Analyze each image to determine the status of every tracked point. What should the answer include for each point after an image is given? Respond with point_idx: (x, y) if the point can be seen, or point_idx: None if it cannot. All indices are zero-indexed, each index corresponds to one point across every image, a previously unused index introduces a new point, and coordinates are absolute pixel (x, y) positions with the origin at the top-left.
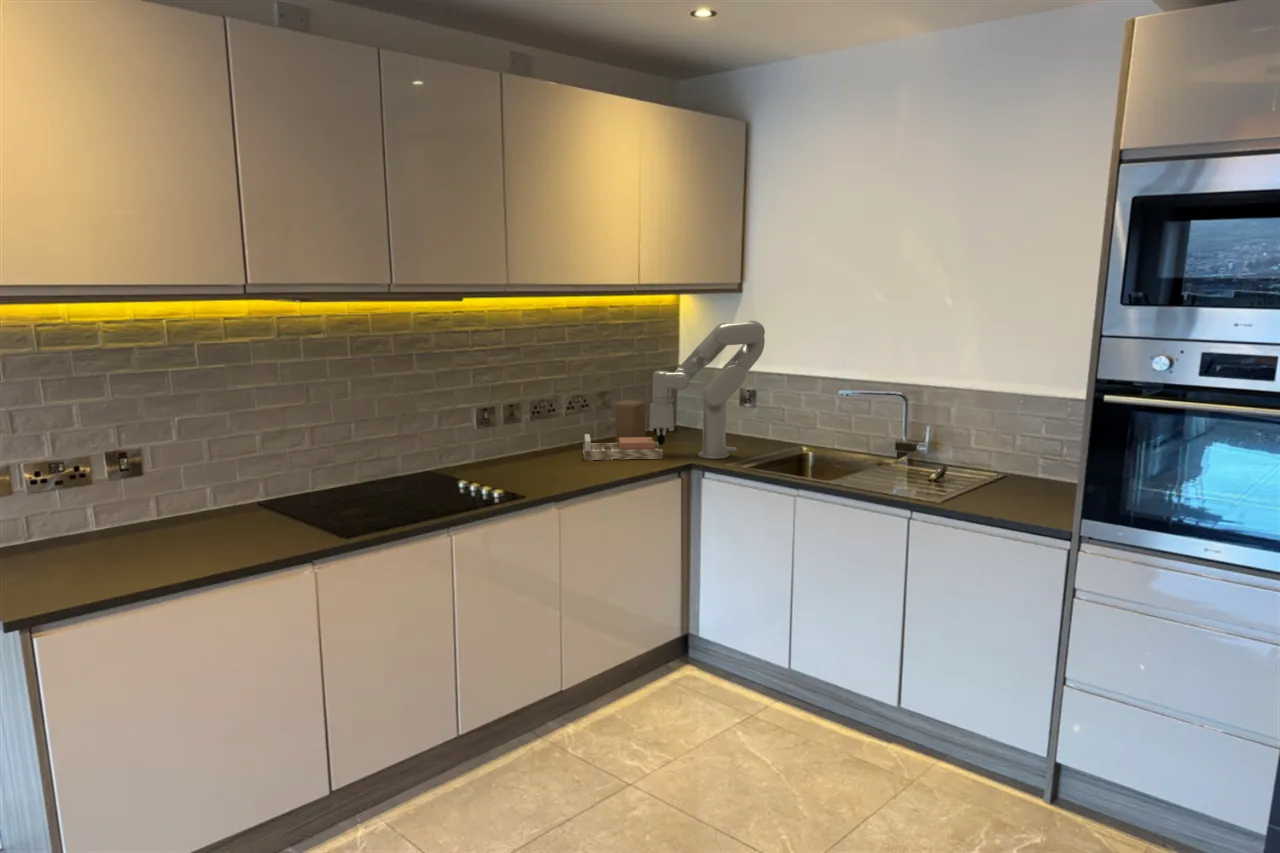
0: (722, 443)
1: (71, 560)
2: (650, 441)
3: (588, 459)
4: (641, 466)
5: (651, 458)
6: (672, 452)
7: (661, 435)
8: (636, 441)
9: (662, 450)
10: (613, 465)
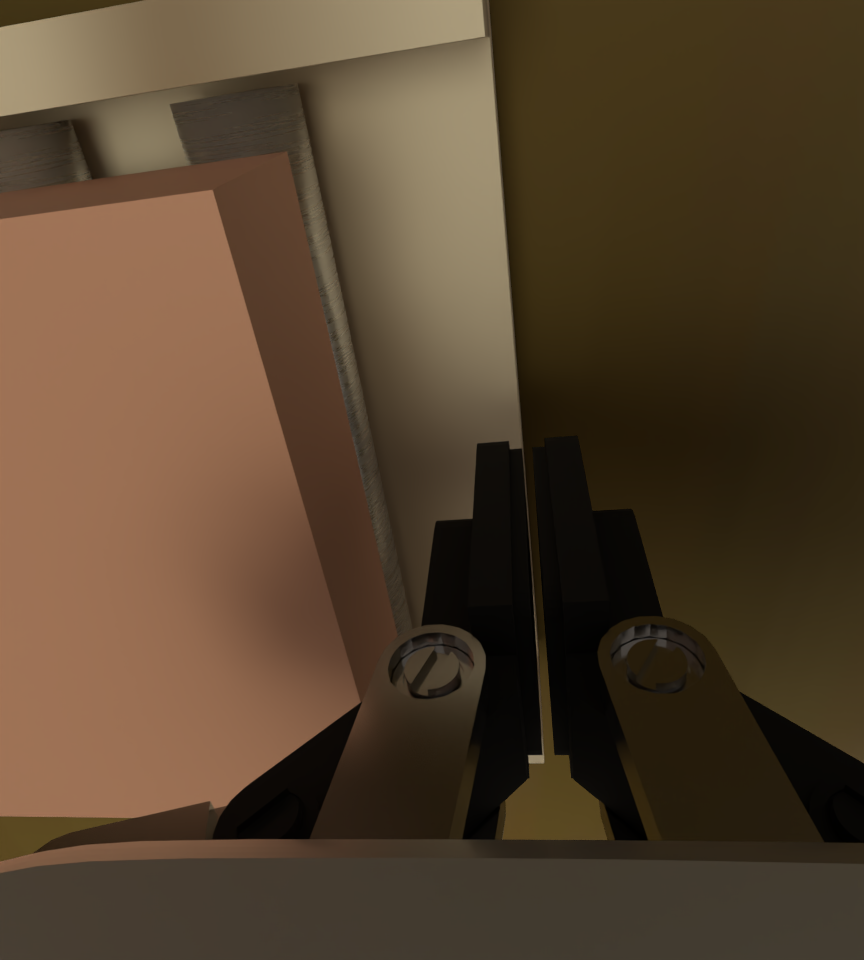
0: None
1: None
2: (290, 742)
3: None
4: None
5: None
6: (839, 52)
7: (555, 723)
8: (6, 734)
9: (539, 755)
10: (44, 817)
